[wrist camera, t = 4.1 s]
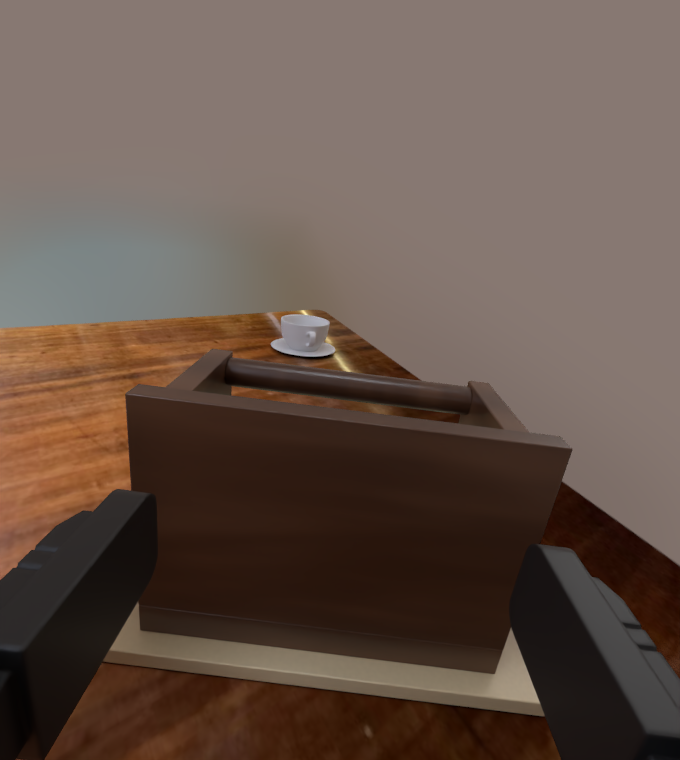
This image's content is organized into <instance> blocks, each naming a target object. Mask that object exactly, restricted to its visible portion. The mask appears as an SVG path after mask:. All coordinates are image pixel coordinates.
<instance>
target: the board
mask: <svg viewBox="0 0 680 760" xmlns="http://www.w3.org/2000/svg"><path fill="white" fill-rule="evenodd" d="M102 662H110V663H118V664H126V665H134V666H143V667H151V668H159V669H167V670H175V671H183V672H191V673H199V674H207V675H215V676H223V677H231V678H239V679H247V680H255V681H263V682H271V683H279V684H287V685H295V686H303V687H311V688H319V689H327V690H335V691H343V692H351V693H359V694H367V695H375V696H383V697H391V698H399V699H407V700H415V701H424V702H432V703H440V704H448V705H456V706H464V707H472V708H480V709H488V710H496V711H504V712H512V713H520V714H528V715H536V716H545V715H544V712H543V710H542V707H541V704H540V702H539V699H538V697H537V694H536V691H535V689H534V686H533V684H532V681H531V678H530V676H529V673H528V671H527V668H526V665H525V663H524V660H523V658H522V655H521V652H520V650H519V647H518V645H517V642H516V639H515V637H514V634H513V631H512V628H511V629H510V632H509V635H508V638H507V641H506V644H505V646H504V649H503V652H502V655H501V658H500V661H499V664H498V666H497V669H496V672H495V674H488V673H480V672H472V671H464V670H456V669H448V668H440V667H432V666H424V665H416V664H407V663H399V662H391V661H383V660H375V659H367V658H359V657H351V656H343V655H335V654H327V653H319V652H311V651H303V650H295V649H287V648H279V647H271V646H263V645H255V644H247V643H239V642H231V641H223V640H215V639H207V638H199V637H191V636H183V635H175V634H167V633H158V632H150V631H142V630H140V620H139V604H138V603H137V604H136V606H135V608H134V609H133V611H132V613H131V614H130V616H129V618H128V619H127V621H126V623H125V624H124V626H123V628H122V629H121V631H120V633H119V635H118V636H117V638H116V640H115V641H114V643H113V645H112V646H111V648H110V650H109V651H108V653H107V655H106V656H105V658H104V660H103V661H102Z"/></svg>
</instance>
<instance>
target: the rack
mask: <svg viewBox="0 0 680 760" xmlns="http://www.w3.org/2000/svg"><path fill="white" fill-rule="evenodd" d="M231 386H236V387H244V388H252V389H260V390H268V391H276V392H284V393H292V394H300V395H308V396H317V397H325V398H333V399H341V400H349V401H357V402H365V403H373V404H381V405H389V406H397V407H405V408H413V409H421V410H429V411H437V412H446V413H454V414H461V416H460V420H459V424H456V423H448V422H440V421H432V420H424V419H416V418H408V417H399V416H391V415H383V414H375V413H367V412H359V411H351V410H343V409H335V408H327V407H319V406H311V405H303V404H295V403H287V402H279V401H270V400H262V399H254V398H246V397H238V396H231ZM125 396H126V412H127V428H128V444H129V460H130V477H131V491H137V492H145V493H152V494H154V495H155V497H156V501H157V530H158V557H157V563H156V567H155V570H154V573H153V576H152V578H151V580H150V582H149V584H148V586H147V587H146V589H145V591H144V592H143V594H142V596H141V598H140V599H139V601H138V604H139V620H140V630H142V631H150V632H158V633H167V634H175V635H183V636H191V637H199V638H207V639H215V640H223V641H231V642H239V643H247V644H255V645H263V646H271V647H279V648H287V649H295V650H303V651H311V652H319V653H327V654H335V655H343V656H351V657H359V658H367V659H375V660H383V661H391V662H399V663H407V664H416V665H424V666H432V667H440V668H448V669H456V670H464V671H472V672H480V673H488V674H495V672H496V669H497V666H498V664H499V661H500V658H501V655H502V652H503V649H504V646H505V644H506V641H507V638H508V635H509V632H510V629H511V624H510V617H509V603H510V598H511V595H512V592H513V589H514V586H515V583H516V580H517V577H518V574H519V571H520V568H521V565H522V562H523V559H524V556H525V553H526V550H527V548H528V547H529V546H530V545H531V544H540V542H541V539H542V536H543V533H544V531H545V528H546V525H547V522H548V519H549V516H550V513H551V510H552V507H553V504H554V502H555V499H556V496H557V493H558V490H559V487H560V484H561V481H562V478H563V475H564V472H565V470H566V466H567V464H568V461H569V458H570V455H571V452H572V448H571V447H570V446H569V445H568V444H567V443H566V442H565V441H564V440H563V439H562V438H561V437H560V436H552V435H545V434H536V433H530V432H529V431H528V430H527V429H526V428H525V426H524V425H523V424H522V423H521V421H520V420H519V419H518V418H517V417H516V415H515V414H514V413H513V412H512V411H511V410H510V408H509V407H508V406H507V405H506V403H505V402H504V401H503V400H502V399H501V398H500V396H499V395H498V394H497V393H496V392H495V390H494V389H493V388H492V387H491V386H490V384H489V383H483V382H474V381H469V382H468V386H467V387H466V386H458V385H449V384H442V383H433V382H425V381H417V380H409V379H401V378H393V377H385V376H377V375H369V374H361V373H353V372H345V371H337V370H329V369H321V368H313V367H304V366H296V365H288V364H280V363H272V362H264V361H256V360H248V359H240V358H232V351H226V350H218V349H211V350H210V351H209V352H208V353H207V354H205V355H204V356H203V357H202V358H201V359H199V360H198V361H197V362H196V363H194V364H193V365H192V366H191V367H190V368H188V369H187V370H186V371H185V372H184V373H182V374H181V375H180V376H179V377H177V378H176V379H175V380H174V381H173V382H171V383H170V384H169V385H168V386H167V387H158V386H150V385H142V384H138V385H137V386H135V387H134V388H133V389H131V390H130V391H128V392H127V393H126V394H125Z"/></svg>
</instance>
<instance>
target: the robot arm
mask: <svg viewBox="0 0 680 760" xmlns="http://www.w3.org/2000/svg"><path fill="white" fill-rule="evenodd" d="M157 557H158V530H157V501H156V497H155V495H154V494H152V493H145V492H137V491H129V490H121V489H116V490H114V491H113V492H111V493H110V494H109V495H108V497H107V498H106V499H105V500H104V501H103V502H102V503H101V504H100V505H99V506H98V507H97V508H96V509H95V510H94V511H93V512H91V511H82V512H80V513H78V514H76V515H75V516H73V517H71V518H69V519H68V520H66V521H64V522H62V523H61V524H59V525H57V526H56V527H55V528H54V529H53V530H52V531H51V532H50V533H49V534H48V535H47V536H45V537H44V538H43V539H42V540H41V541H40V542H39V543H38V544H37V545H36V548H35V550H31V551H30V552H29V553H28V554H27V555H26V556H25V557H24V558H23V559H22V560H21V561H20V562H19V563H18V566H17V568H13V569H12V570H11V571H10V572H9V573H8V574H7V575H6V576H5V577H4V578H2V579H1V580H0V760H15V759H23V760H44V759H45V757H46V756H47V754H48V752H49V751H50V749H51V747H52V746H53V744H54V742H55V741H56V739H57V737H58V735H59V734H60V732H61V730H62V729H63V727H64V725H65V724H66V722H67V720H68V719H69V717H70V715H71V714H72V712H73V710H74V709H75V707H76V705H77V704H78V702H79V700H80V698H81V697H82V695H83V693H84V692H85V690H86V688H87V687H88V685H89V683H90V682H91V680H92V678H93V677H94V675H95V673H96V672H97V670H98V668H99V667H100V665H101V663H102V661H103V660H104V658H105V656H106V655H107V653H108V651H109V650H110V648H111V646H112V645H113V643H114V641H115V640H116V638H117V636H118V635H119V633H120V631H121V629H122V628H123V626H124V624H125V623H126V621H127V619H128V618H129V616H130V614H131V613H132V611H133V609H134V608H135V606H136V604H137V603H138V601H139V599H140V598H141V596H142V594H143V592H144V591H145V589H146V587H147V586H148V584H149V582H150V580H151V578H152V576H153V573H154V570H155V567H156V563H157ZM509 617H510V624H511V628H512V631H513V634H514V637H515V639H516V642H517V645H518V647H519V650H520V652H521V655H522V658H523V660H524V663H525V665H526V668H527V671H528V673H529V676H530V678H531V681H532V684H533V686H534V689H535V691H536V694H537V697H538V699H539V702H540V704H541V707H542V710H543V712H544V715H545V717H546V720H547V723H548V725H549V728H550V731H551V733H552V736H553V738H554V741H555V744H556V746H557V749H558V751H559V754H560V757H561V759H562V760H680V679H679V678H678V676H677V675H676V674H675V672H674V671H673V669H672V668H671V667H670V665H669V664H668V662H667V661H666V660H665V658H664V657H663V655H662V654H661V653H659V652H657V650H656V646H655V644H654V643H653V641H652V640H651V639H650V637H649V636H648V634H647V633H646V632H645V630H641V625H640V623H639V622H638V620H637V619H636V618H635V616H634V615H633V613H632V612H631V611H630V609H629V608H628V606H627V605H626V604H625V602H624V601H623V600H622V599H621V598H620V597H619V596H618V595H617V594H616V593H614V592H613V591H612V590H611V589H610V588H609V587H608V586H607V585H605V584H604V583H603V582H602V581H601V580H600V579H599V578H595V577H591V576H590V574H589V573H588V571H587V570H586V568H585V567H584V565H583V564H582V562H581V561H580V559H579V558H578V556H577V555H576V553H575V552H574V551H573V550H571V549H570V548H564V547H556V546H548V545H540V544H531V545H530V546H529V547H528V548H527V550H526V553H525V556H524V559H523V562H522V565H521V568H520V571H519V574H518V577H517V580H516V583H515V586H514V589H513V592H512V595H511V598H510V603H509Z"/></svg>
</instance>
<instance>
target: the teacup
mask: <svg viewBox="0 0 680 760" xmlns="http://www.w3.org/2000/svg"><path fill="white" fill-rule="evenodd" d="M329 325H330V322H329V321H328V320H326V319H323V318H320V317H315V316H309V315H286V316H283V317H281V328H282V335H283V338H282V339H277V340H275V341H273V342H272V343H271V346H272V347H273V348H274V349H276V350H278V351H280V352H283V353H287V354H291V355H297V356H308V357H317V356H326V355H330V354H332V353H334V352H335V348H334V347H333V346H332V345H330V344H328V343H325V342H324V341H325V339H326V337H327V333H328V329H329Z"/></svg>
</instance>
